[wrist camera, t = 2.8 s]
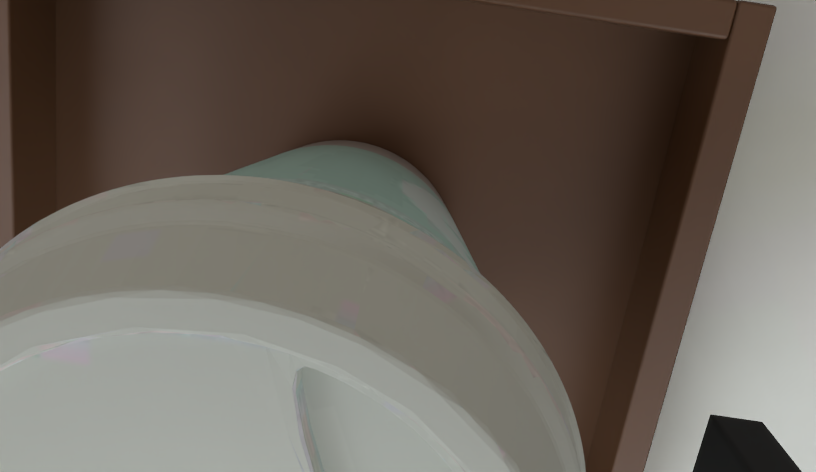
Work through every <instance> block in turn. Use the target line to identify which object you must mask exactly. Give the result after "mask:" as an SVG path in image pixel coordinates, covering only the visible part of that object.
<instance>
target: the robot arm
mask: <svg viewBox="0 0 816 472" xmlns="http://www.w3.org/2000/svg"><path fill="white" fill-rule="evenodd" d="M693 472H801V470H800V469H799V468H798V467H797V465H796V464H795V463H794V461H793V460H792V459H791V458H790V456H789V455H788V454H787V453H786V451H785V450H784V449H783V448H782V446H781V445H780V444H779V443H778V441H777V440H776V439H775V438H774V436H773V435H772V434H771V433H770V431H769V430H768V429H767V428H766V426H765V425H764V424H763V423H762V422H758V421H751V420H744V419H737V418H730V417H723V416H717V415H710V418H709V421H708V424H707V428H706V431H705V434H704V437H703V440H702V444H701V447H700V450H699V453H698V456H697V460H696V463H695V466H694V469H693Z"/></svg>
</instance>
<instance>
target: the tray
mask: <svg viewBox="0 0 816 472" xmlns="http://www.w3.org/2000/svg"><path fill="white" fill-rule="evenodd" d="M775 12H776V7H775V6H773V5H767V4H760V3H754V2H747V1H735V0H0V248H1V247H3V246H4V245H5V244H6V243H8V242H9V241H10V240H12V239H13V238H14V237H16V236H17V235H18V234H20V233H21V232H23V231H24V230H26V229H27V228H29V227H30V226H32V225H33V224H35V223H37V222H38V221H40V220H42V219H44V218H45V217H47V216H49V215H51V214H53V213H55V212H57V211H58V210H60V209H62V208H65V207H67V206H69V205H71V204H74V203H76V202H78V201H81V200H83V199H86V198H88V197H91V196H94V195H97V194H100V193H103V192H106V191H109V190H112V189H116V188H120V187H123V186H127V185H131V184H136V183H140V182H146V181H151V180H157V179H164V178H172V177H181V176H195V175H224V174H227V173H230V172H233V171H235V170H238V169H241V168H243V167H246V166H249V165H251V164H254V163H257V162H260V161H262V160H265V159H268V158H270V157H273V156H276V155H279V154H281V153H284V152H287V151H290V150H293V149H296V148H299V147H302V146H305V145H308V144H312V143H317V142H323V141H333V140H347V141H356V142H362V143H367V144H371V145H374V146H377V147H380V148H383V149H385V150H388V151H390V152H392V153H394V154H396V155H398V156H399V157H401V158H403V159H404V160H406V161H407V162H409V163H410V164H411V165H413V166H414V167H415V168H416V169H418V170H419V171H420V172H421V173H422V174H423V175H424V176H425V177H426V178H427V179H428V180H429V181H430V183H431V184H432V185H433V186H434V188H435V189H436V191H437V192H438V193H439V195H440V197H441V198H442V200H443V202H444V204H445V206H446V208H447V209H448V211H449V213H450V215H451V217H452V219H453V220H454V222H455V224H456V226H457V228H458V230H459V232H460V234H461V236H462V238H463V240H464V242H465V244H466V246H467V248H468V250H469V252H470V254H471V256H472V258H473V260H474V262H475V264H476V266H477V268H478V270H479V272H480V274H481V275H482V276H483V277H484V278H486V279H487V280H488V281H489V282H490V283H491V284H492V285H493V286H494V287H495V288H496V289H497V290H498V291H499V292H500V293H501V294H502V295H503V296H504V297H505V298H506V299H507V301H508V302H509V303H510V304H511V305H512V306H513V307H514V308H515V310H516V311H517V312H518V313H519V314H520V316H521V317H522V318H523V319H524V321H525V322H526V323H527V325H528V326H529V327H530V329H531V330H532V331H533V333H534V334H535V336H536V337H537V339H538V340H539V342H540V343H541V345H542V346H543V348H544V349H545V351H546V353H547V355H548V356H549V358H550V360H551V361H552V363H553V365H554V367H555V369H556V371H557V373H558V375H559V377H560V379H561V381H562V383H563V386H564V388H565V390H566V393H567V395H568V398H569V400H570V403H571V406H572V409H573V412H574V415H575V418H576V421H577V425H578V429H579V433H580V437H581V442H582V447H583V453H584V460H585V469H586V472H643V471H644V468H645V464H646V461H647V457H648V454H649V450H650V447H651V443H652V440H653V436H654V433H655V429H656V426H657V422H658V419H659V415H660V412H661V409H662V405H663V402H664V398H665V395H666V391H667V388H668V384H669V381H670V377H671V374H672V370H673V367H674V363H675V360H676V356H677V353H678V349H679V346H680V343H681V339H682V336H683V332H684V329H685V325H686V322H687V318H688V315H689V311H690V308H691V304H692V301H693V297H694V294H695V290H696V287H697V283H698V280H699V277H700V273H701V270H702V266H703V263H704V259H705V256H706V252H707V249H708V245H709V242H710V238H711V235H712V231H713V228H714V224H715V221H716V217H717V214H718V210H719V207H720V204H721V200H722V197H723V193H724V190H725V186H726V183H727V179H728V176H729V172H730V169H731V165H732V162H733V158H734V155H735V151H736V148H737V144H738V141H739V138H740V134H741V131H742V127H743V124H744V120H745V117H746V113H747V110H748V106H749V103H750V99H751V96H752V92H753V89H754V85H755V82H756V78H757V75H758V72H759V68H760V65H761V61H762V58H763V54H764V51H765V47H766V44H767V40H768V37H769V33H770V30H771V26H772V23H773V19H774V16H775Z"/></svg>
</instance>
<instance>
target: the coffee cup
mask: <svg viewBox="0 0 816 472" xmlns="http://www.w3.org/2000/svg"><path fill="white" fill-rule="evenodd" d="M0 472H586V469H585V460H584V453H583V447H582V442H581V437H580V433H579V429H578V425H577V421H576V418H575V415H574V412H573V409H572V406H571V403H570V400H569V398H568V395H567V393H566V390H565V388H564V386H563V383H562V381H561V379H560V377H559V375H558V373H557V371H556V369H555V367H554V365H553V363H552V361H551V360H550V358H549V356H548V355H547V353H546V351H545V349H544V348H543V346H542V345H541V343H540V342H539V340H538V339H537V337H536V336H535V334H534V333H533V331H532V330H531V329H530V327H529V326H528V325H527V323H526V322H525V321H524V319H523V318H522V317H521V316H520V314H519V313H518V312H517V311H516V310H515V308H514V307H513V306H512V305H511V304H510V303H509V302H508V301H507V299H506V298H505V297H504V296H503V295H502V294H501V293H500V292H499V291H498V290H497V289H496V288H495V287H494V286H493V285H492V284H491V283H490V282H489V281H488V280H487V279H486V278H484V277H483V276H482V275H481V274H480V272H479V270H478V268H477V266H476V264H475V262H474V260H473V258H472V256H471V254H470V252H469V250H468V248H467V246H466V244H465V242H464V240H463V238H462V236H461V234H460V232H459V230H458V228H457V226H456V224H455V222H454V220H453V219H452V217H451V215H450V213H449V211H448V209H447V208H446V206H445V204H444V202H443V200H442V198H441V197H440V195H439V193H438V192H437V191H436V189H435V188H434V186H433V185H432V184H431V183H430V181H429V180H428V179H427V178H426V177H425V176H424V175H423V174H422V173H421V172H420V171H419V170H418V169H416V168H415V167H414V166H413V165H411V164H410V163H409V162H407V161H406V160H404V159H403V158H401V157H399V156H398V155H396V154H394V153H392V152H390V151H388V150H385V149H383V148H380V147H377V146H374V145H371V144H367V143H362V142H356V141H347V140H333V141H323V142H317V143H312V144H308V145H305V146H302V147H299V148H296V149H293V150H290V151H287V152H284V153H281V154H279V155H276V156H273V157H270V158H268V159H265V160H262V161H260V162H257V163H254V164H251V165H249V166H246V167H243V168H241V169H238V170H235V171H233V172H230V173H227V174H224V175H195V176H181V177H172V178H164V179H157V180H151V181H146V182H140V183H136V184H131V185H127V186H123V187H120V188H116V189H112V190H109V191H106V192H103V193H100V194H97V195H94V196H91V197H88V198H86V199H83V200H81V201H78V202H76V203H74V204H71V205H69V206H67V207H65V208H62V209H60V210H58V211H57V212H55V213H53V214H51V215H49V216H47V217H45V218H44V219H42V220H40V221H38V222H37V223H35V224H33V225H32V226H30V227H29V228H27V229H26V230H24V231H23V232H21V233H20V234H18V235H17V236H16V237H14V238H13V239H12V240H10V241H9V242H8V243H6V244H5V245H4V246H3V247H1V248H0Z"/></svg>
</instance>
